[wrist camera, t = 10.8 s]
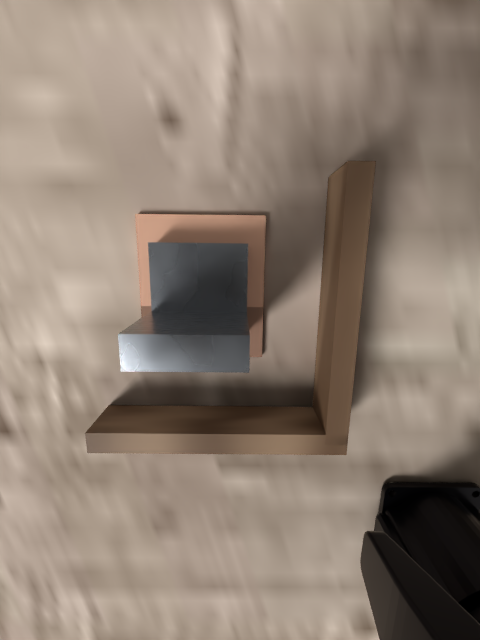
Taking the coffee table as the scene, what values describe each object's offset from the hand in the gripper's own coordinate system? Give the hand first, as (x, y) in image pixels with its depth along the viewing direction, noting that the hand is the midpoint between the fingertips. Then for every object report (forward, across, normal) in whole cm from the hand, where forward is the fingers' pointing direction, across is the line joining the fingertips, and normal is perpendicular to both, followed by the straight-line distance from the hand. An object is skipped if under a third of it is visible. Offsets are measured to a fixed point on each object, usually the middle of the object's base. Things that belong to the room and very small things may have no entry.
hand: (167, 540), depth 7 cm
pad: (+12, +1, -4) cm, 13 cm away
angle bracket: (+12, +1, -4) cm, 12 cm away
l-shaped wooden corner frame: (+12, 0, -3) cm, 12 cm away
